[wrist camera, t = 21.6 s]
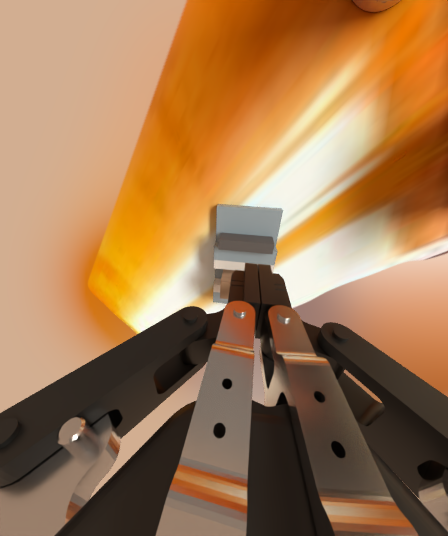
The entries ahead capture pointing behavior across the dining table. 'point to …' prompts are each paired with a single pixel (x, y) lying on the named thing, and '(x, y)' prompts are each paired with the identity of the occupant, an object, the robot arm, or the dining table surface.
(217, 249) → the vise jaw
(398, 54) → the dining table surface
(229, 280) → the walnut block
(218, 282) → the vise
